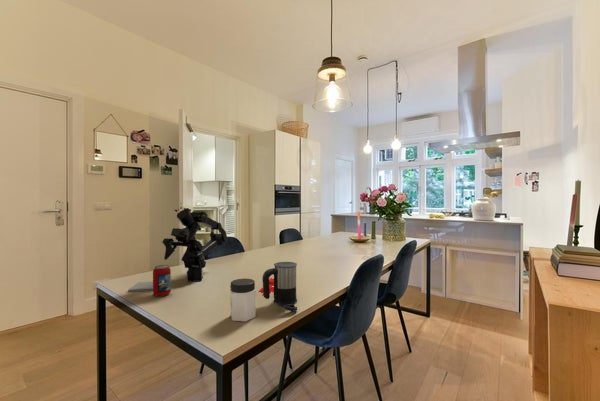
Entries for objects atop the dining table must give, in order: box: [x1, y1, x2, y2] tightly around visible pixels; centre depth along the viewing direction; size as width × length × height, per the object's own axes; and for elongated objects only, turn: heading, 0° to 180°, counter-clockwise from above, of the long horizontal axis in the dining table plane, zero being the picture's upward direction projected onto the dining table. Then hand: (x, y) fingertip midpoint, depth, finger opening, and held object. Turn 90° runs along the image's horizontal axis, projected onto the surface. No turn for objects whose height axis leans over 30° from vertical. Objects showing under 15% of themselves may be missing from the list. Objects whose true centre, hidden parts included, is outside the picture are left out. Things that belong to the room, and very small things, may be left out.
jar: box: [230, 278, 256, 322], centre depth 97 cm, size 9×8×12 cm
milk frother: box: [261, 261, 298, 313], centre depth 107 cm, size 14×16×15 cm
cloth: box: [258, 277, 274, 296], centre depth 130 cm, size 26×14×2 cm, turn 160°
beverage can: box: [152, 264, 172, 298], centre depth 120 cm, size 7×7×12 cm
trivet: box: [128, 280, 153, 293], centre depth 130 cm, size 11×11×1 cm
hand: (173, 259), depth 126 cm, fingers open, 9 cm apart
